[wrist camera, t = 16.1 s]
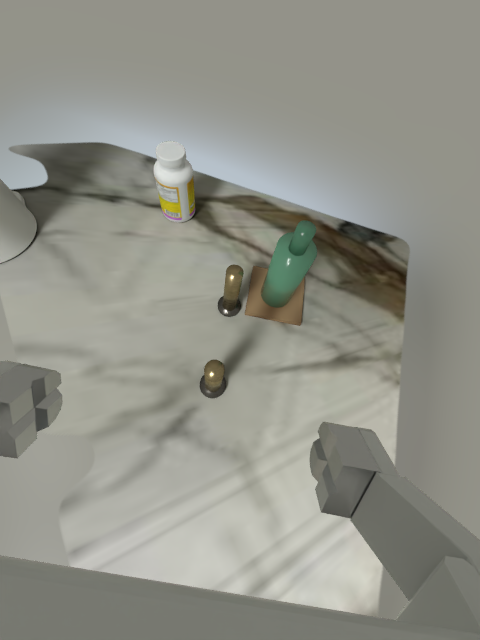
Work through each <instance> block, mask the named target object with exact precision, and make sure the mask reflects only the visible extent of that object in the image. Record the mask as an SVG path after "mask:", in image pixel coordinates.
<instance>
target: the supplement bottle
mask: <svg viewBox="0 0 480 640" xmlns="http://www.w3.org/2000/svg"><path fill="white" fill-rule="evenodd" d="M156 155H157V161H156V163H155V165H154V176H155V180H156V185H157V189H158V194H159V199H160V203H161V208H162V212H163V214H164V215H165V217H166V218H167V219H169V220H171V221H173V222H185V221H187V220H189V219H191V218H192V217H193V215H194V213H195V197H194V182H193V169H192V166H191V164H190V163H189V162H188V161H187V160H186V152H185V148H184V147H183V146H182V145H181V144H179V143H177V142H174V141H173V142H172V141H166V142H162V143H161V144H159V145H158V146H157V148H156Z"/></svg>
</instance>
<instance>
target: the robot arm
mask: <svg viewBox="0 0 480 640" xmlns="http://www.w3.org/2000/svg"><path fill="white" fill-rule="evenodd" d="M36 230H37V223H36V219H35V217H34V216H33V214H32V213H31V212H30V211H29V210H28V209H27V208H26V206H25V201H24V198H23V197H22V196H21V195H20V194H19V193H18V192H15V191H11V190H10V189H9V188H8V187H7V186H6V185H5V184H4V183H3V181H2V180H1V179H0V263H2V262H5V261H7V260H9V259H12V258H13V257H15V256H17V255H18V254H20V253H21V252H22V251H24V250H25V249H26V248H27V247H28V246H29V244H30V243H31V242H32V240H33V239H34V237H35V234H36ZM60 384H61V374H60V373H59V372H57V371H55V370H50V369H45V368H41V367H36V366H31V365H27V364H21V363H16V362H11V361H1V362H0V456H4V457H11V458H18V457H19V456H20V455H21V454H22V453H23V452H24V451H25V450H26V449H27V448H28V447H29V446H30V445H31V444H32V443H33V442H34V441H35V440H36V439H37V432H38V431H40V430H42V429H45V428H47V427H49V426H50V425H51V424H52V422H53V421H54V420H55V419H56V417H57V416H58V414H59V412H60V410H61V406H62V394H61V393H60V392H59V390H58V389H57V387H58V386H59V385H60ZM318 433H319V437H320V438H319V439H317V440H316V441H314V442H313V445H312V448H311V452H310V468H311V473H312V475H313V477H314V478H315V479H316V480H317V481H318V484H317V486H316V489H315V490H316V494H317V498H318V502H319V506H320V510H321V512H322V513H327V514H332V515H337V516H341V517H346V518H351V521H352V523H353V524H354V526H355V527H356V528H357V530H358V531H359V533H360V534H361V535H362V537H363V538H364V539H365V541H366V542H367V544H368V545H369V546H370V548H371V549H372V551H373V552H374V553H375V555H376V556H377V557H378V559H379V560H380V562H381V563H382V564H383V566H384V567H385V568H386V570H387V571H388V572H389V574H390V575H391V577H392V578H393V580H394V581H395V582H396V584H397V585H398V586H399V588H400V589H401V590H402V592H403V593H404V595H405V596H406V598H407V599H408V600H409V602H408V603H407V605H406V606H405V607H404V608H403V610H402V611H401V612H400V613H399V615H398V617H397V619H396V620H392V619H386V618H379V617H373V616H367V615H361V614H355V613H349V612H343V611H337V610H330V609H324V608H318V607H312V606H306V605H300V604H294V603H288V602H282V601H276V600H270V599H264V598H257V597H251V596H245V595H239V594H233V593H227V592H221V591H215V590H209V589H203V588H197V587H191V586H185V585H179V584H172V583H166V582H160V581H154V580H148V579H142V578H136V577H130V576H124V575H117V574H111V573H105V572H99V571H93V570H87V569H81V568H74V567H68V566H62V565H56V564H50V563H44V562H38V561H31V560H25V559H19V558H13V557H7V556H1V555H0V640H480V540H479V539H478V538H477V537H476V536H475V535H473V534H472V533H471V532H470V531H469V530H467V529H466V528H465V527H464V526H462V524H460V523H459V522H458V521H457V520H456V519H454V518H453V517H452V516H451V515H450V514H448V513H447V512H446V511H445V510H444V509H442V508H441V507H440V506H439V505H438V504H436V503H435V502H434V501H433V500H432V499H431V498H430V497H428V496H427V495H426V494H425V493H423V492H422V491H421V490H420V489H419V488H418V487H416V486H415V485H414V484H413V483H412V482H411V481H409V480H408V479H407V478H405V477H401V476H400V475H399V473H398V471H397V470H396V468H395V466H394V464H393V463H392V461H391V459H390V458H389V456H388V454H387V452H386V451H385V449H384V447H383V446H382V444H381V442H380V440H379V439H378V437H377V435H376V434H375V432H373V431H372V430H370V429H364V428H358V427H350V426H344V425H339V424H334V423H328V422H323V423H322V424H321V425H320V427H319V430H318Z"/></svg>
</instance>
